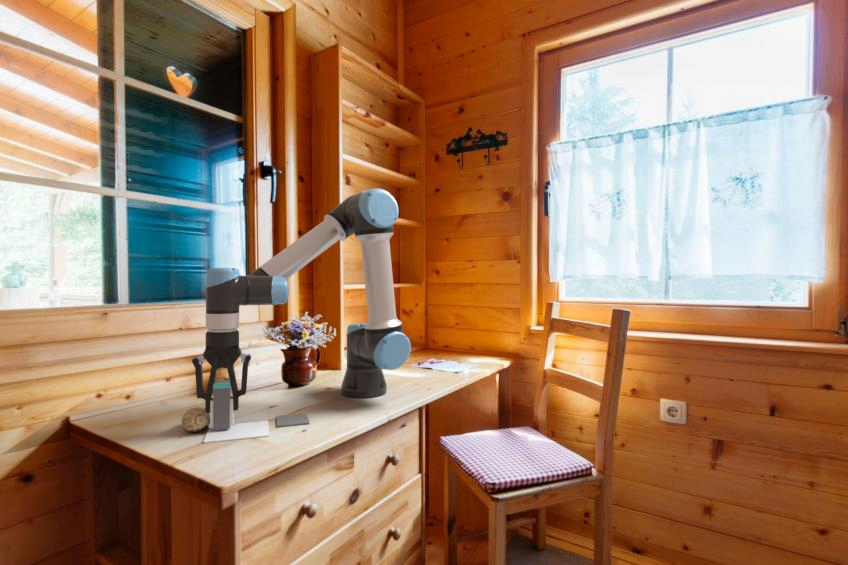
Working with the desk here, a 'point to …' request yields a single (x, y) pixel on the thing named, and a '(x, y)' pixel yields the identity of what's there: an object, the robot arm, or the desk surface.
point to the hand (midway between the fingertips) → (222, 424)
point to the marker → (221, 404)
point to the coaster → (292, 420)
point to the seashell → (195, 419)
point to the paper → (238, 432)
